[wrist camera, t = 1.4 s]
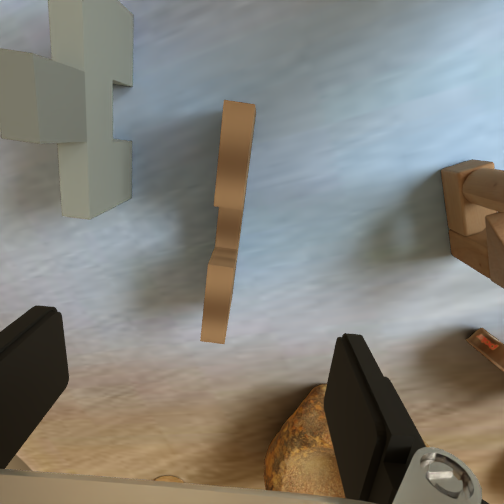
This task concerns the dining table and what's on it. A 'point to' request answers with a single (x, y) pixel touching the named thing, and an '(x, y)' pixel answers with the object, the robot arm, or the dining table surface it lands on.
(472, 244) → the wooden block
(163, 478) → the beer glass
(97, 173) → the grey slotted plate
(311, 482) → the rough brown rock
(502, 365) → the tin
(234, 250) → the walnut slotted board
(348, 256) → the dining table surface
